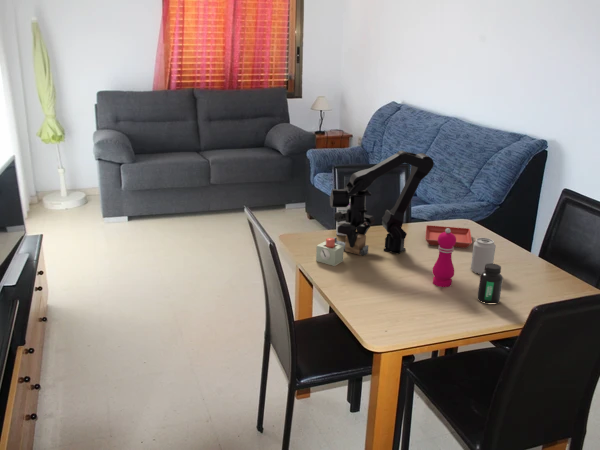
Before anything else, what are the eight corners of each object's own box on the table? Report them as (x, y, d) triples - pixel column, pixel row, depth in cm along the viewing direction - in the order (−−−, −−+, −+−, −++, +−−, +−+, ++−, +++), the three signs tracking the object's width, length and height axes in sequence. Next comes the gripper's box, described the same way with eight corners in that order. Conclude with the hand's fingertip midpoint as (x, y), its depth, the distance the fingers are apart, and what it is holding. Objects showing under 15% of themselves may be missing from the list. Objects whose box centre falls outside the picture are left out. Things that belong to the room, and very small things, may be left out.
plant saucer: (424, 246, 237) (425, 238, 236) (425, 231, 254) (426, 224, 253) (471, 251, 234) (472, 243, 233) (469, 235, 250) (470, 228, 249)
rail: (367, 253, 228) (368, 245, 227) (364, 255, 225) (364, 247, 224) (334, 244, 236) (335, 237, 235) (330, 246, 233) (330, 239, 232)
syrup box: (350, 235, 246) (352, 202, 241) (335, 235, 246) (337, 201, 241) (349, 231, 251) (351, 198, 246) (335, 230, 251) (336, 197, 247)
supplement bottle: (490, 307, 187) (495, 272, 183) (472, 299, 192) (477, 264, 188) (503, 301, 191) (509, 267, 187) (486, 294, 196) (490, 260, 192)
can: (493, 269, 216) (497, 238, 212) (490, 277, 209) (494, 245, 205) (472, 265, 219) (476, 235, 215) (468, 273, 212) (472, 241, 208)
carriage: (365, 250, 229) (366, 235, 227) (358, 254, 225) (359, 239, 223) (351, 247, 232) (352, 232, 230) (344, 250, 229) (345, 235, 227)
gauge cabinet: (343, 261, 220) (343, 245, 218) (333, 266, 215) (334, 250, 213) (324, 255, 224) (325, 241, 222) (315, 261, 219) (315, 245, 217)
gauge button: (336, 249, 218) (336, 239, 217) (331, 251, 216) (331, 241, 215) (328, 247, 220) (329, 237, 219) (324, 249, 218) (324, 239, 216)
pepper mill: (440, 289, 198) (447, 233, 192) (426, 281, 204) (432, 226, 198) (457, 285, 202) (464, 230, 195) (443, 277, 208) (449, 223, 201)
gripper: (351, 197, 235) (349, 234, 240) (325, 208, 220) (324, 247, 225) (376, 202, 229) (374, 240, 234) (352, 214, 214) (349, 254, 219)
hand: (355, 245), depth 228 cm, fingers closed on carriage, 5 cm apart
